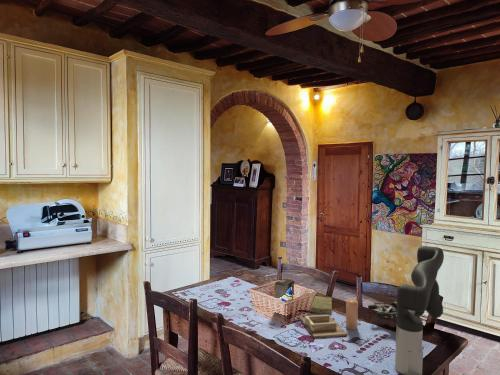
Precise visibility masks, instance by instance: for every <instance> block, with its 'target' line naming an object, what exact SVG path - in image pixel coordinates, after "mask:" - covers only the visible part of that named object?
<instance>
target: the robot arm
mask: <svg viewBox="0 0 500 375" xmlns="http://www.w3.org/2000/svg"><path fill="white" fill-rule="evenodd" d="M444 257H445V255H444V250H443V249H442V248H441V247H438V246H429V245H428V246H427V245H420V246H418V248H417V252H416V259H417V260H416V261H417V264H415V266H414V267H413V268H412V271H411V274H410V278H411V282H412V283H413V284H414V285H413V284H412V285H411V284H406V283H401V284H399V286H398V288H397V292H396V301H392V302H391V303H390V304H386V303H387V302H382V301H381V302H380V301H379V302H374V303H373V304H368V306H367V309H368V310H369V311H374V310H377V312H376V317H377V318H381V317H382V318H387V319H388V320H392V319H396V333H395V334H396V335H395V350H394V352H395V354H394V355H395V356H394V369H395V371H396V372H398V373H399V374H401V375H423V360H424V351H423V331H424V330H423V329H424V322H423V321H422V320H421V318H420V317H419V316H423V315H424V314H425V312H426V313H428V315H430V317H432V318H435V319H438V318H440V317H441V316H442V315H443V313H444V306H443V303H442V299H441V298H440V285H439V283H438V281H437V276H438V273H439V270H440V269H441V267H442V265H443V262H444V259H445V258H444Z"/></svg>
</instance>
